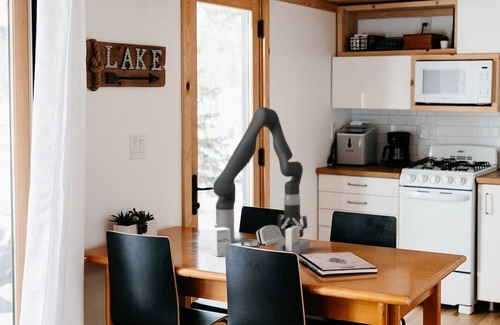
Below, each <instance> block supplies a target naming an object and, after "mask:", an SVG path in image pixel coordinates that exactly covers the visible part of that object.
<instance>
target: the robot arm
mask: <svg viewBox="0 0 500 325" xmlns="http://www.w3.org/2000/svg"><path fill="white" fill-rule="evenodd" d="M263 127H265V128H267V129H268V130H269V132H270V133H271V136H272V145H273V147H272V148H273V149H274V152H275V154H276V157H277V158H278V162H279V169H280V173H281V175H283V176H284V177H286V178H289V177H291V178H290V180H288V181H286V182H285V183H284V200H283V202H284V203H283V205H284V208H283V209H284V211H283V212H284V214H278V215H277V226H278V227H279V229H280V231H281V234H282V236H283V237H284V238H286V232H285V230H286V227H287V226H288V225H292V226H298V227H299V237H300V238H303V236H304V230H305V229H307V228H308V217H307V215H301V197H300V196H301V194H300V185H301V182H302V181H301V180H302V177H303V172H304V169H303V165H302V163H301V162H299V161H290V160H291V159H292V158H293V153H292V150H291V148H290V146H289V144H288V142H287V140H286V137H285V135H284V131H283V128H282V126H281V121H280V118H279V115H278V113H277V111H276V110H274V109H271V108H268V107H265V106H261V107H259V108H257V109H256V111H255V112H254V113H253V116H252V118H251V120H250V122H249V124H248V127H247V128H246V130H245V133H244V134H243V136H242V138H241V139H240V141H239V143H238V144H237V145H236V148H235V149H234V150H233V152H232V155H231V157H230V158H229V160H228V162H227V163H226V165H225V167H224V169H223V170H222V171H221V173H220V174H219V176H218V177H217V178H216V180H215V181H214V183H213V185H212V186H213V187H212V188H213V192H214V195H216V196H217V197H218V199H217V202H216V203H215V220H216V221H215V223H214V228H221V227H225V228H229V229H230V241H231V244H232V243H235V203H236V183H235V180H236V178H237V176H238V175H239V174H240V173H241V172H242V170H244V169H245V167H246V166H247V165H248V164H249V163H250V162H251V160H252V158H253V156H254V155H255V152H256V150H257V140H258V137H259V136H258V135H259V134H260V131H261V130H262V128H263ZM283 219H284V222H283ZM301 221H302V222H301ZM282 223H283V224H282Z"/></svg>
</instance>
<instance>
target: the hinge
mask: <svg viewBox="0 0 500 325" xmlns="http://www.w3.org/2000/svg"><path fill="white" fill-rule="evenodd" d="M255 234H256V238H257V242H258V241H259V243H260V244H262V245H265V247H268V246H267V245H269V246H272V245H271V244H273V245H276V244H275V243H279V242H281V241H283V240H285V239H286V237H283V235H282V230H281V228H280V227H278V225H274V224H269V225H265V226H262V227H261V228H259V229H258V230H257V231H256V232H255Z"/></svg>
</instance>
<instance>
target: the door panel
mask: <svg viewBox="0 0 500 325" xmlns="http://www.w3.org/2000/svg"><path fill="white" fill-rule="evenodd" d="M299 230H300V228H299V227H298V226H297V225H292V226H290V227H288V228H285V239H286V251H292V245H294V244H296V243H298V242H300V241H301V240H300V233H299Z"/></svg>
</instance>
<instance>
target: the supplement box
mask: <svg viewBox="0 0 500 325" xmlns="http://www.w3.org/2000/svg"><path fill="white" fill-rule="evenodd" d="M209 234H210V235H209V236H210V237H209V238H210V255H211V256H214V257H226V256H225V245H226V244H232V243H231V241H230V229H229V228H225V227H221V228H215V227H211V228H210V233H209Z"/></svg>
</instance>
